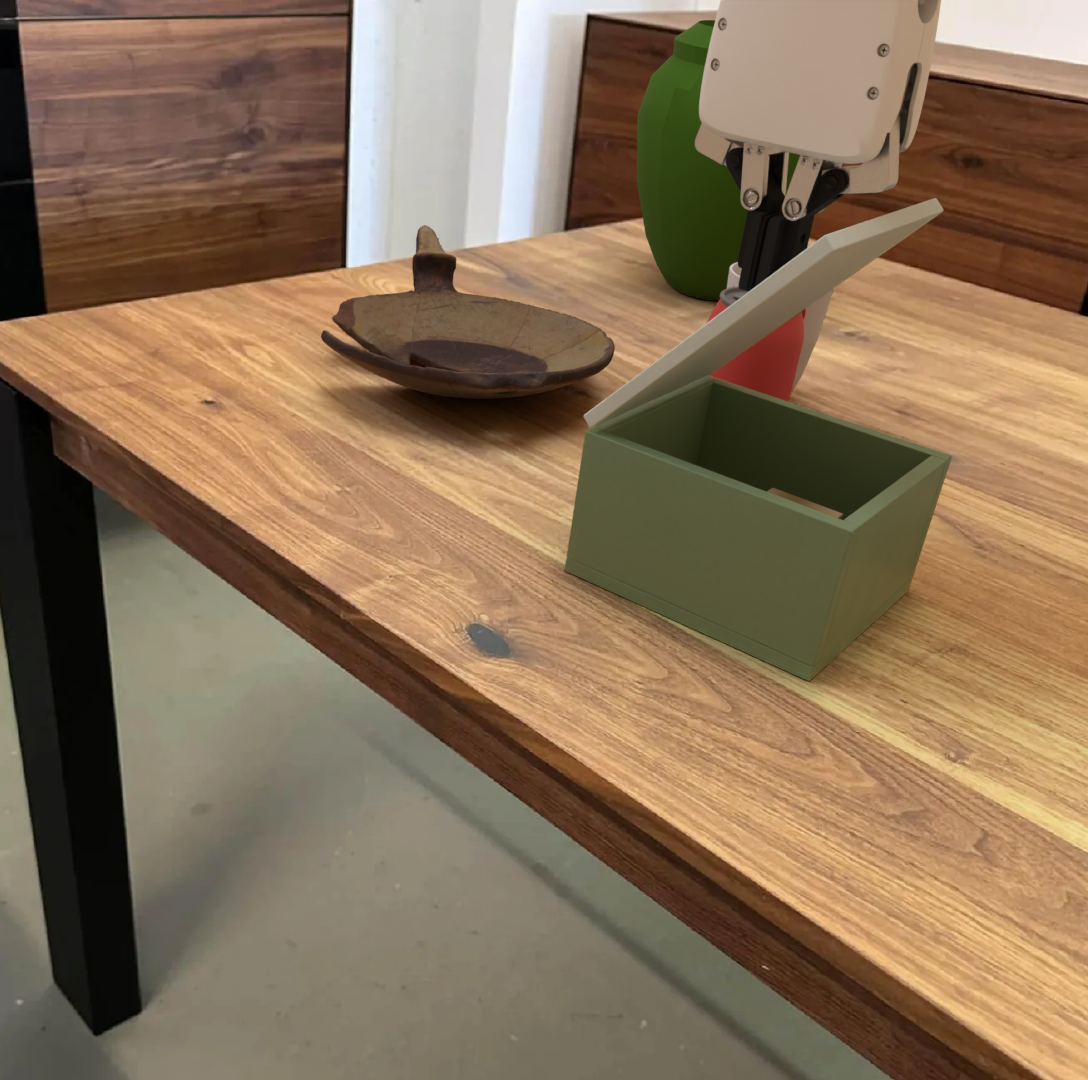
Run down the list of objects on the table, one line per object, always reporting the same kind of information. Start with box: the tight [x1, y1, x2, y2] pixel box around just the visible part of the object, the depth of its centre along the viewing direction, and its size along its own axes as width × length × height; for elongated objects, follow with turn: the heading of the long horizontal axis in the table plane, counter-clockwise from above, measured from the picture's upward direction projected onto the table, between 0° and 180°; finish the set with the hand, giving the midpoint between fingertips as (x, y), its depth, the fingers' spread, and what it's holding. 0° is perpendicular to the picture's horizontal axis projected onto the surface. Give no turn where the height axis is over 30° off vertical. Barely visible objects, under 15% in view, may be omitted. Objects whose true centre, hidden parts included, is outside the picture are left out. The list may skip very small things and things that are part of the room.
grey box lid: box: [583, 197, 944, 429], centre depth 65 cm, size 17×14×1 cm
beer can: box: [706, 286, 804, 402], centre depth 84 cm, size 7×7×12 cm
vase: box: [636, 19, 800, 302], centre depth 118 cm, size 20×20×24 cm
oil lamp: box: [320, 224, 616, 400], centre depth 96 cm, size 22×30×8 cm
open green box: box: [564, 375, 953, 682], centre depth 70 cm, size 16×14×9 cm
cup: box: [727, 262, 835, 394], centre depth 97 cm, size 8×8×10 cm
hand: (764, 287), depth 65 cm, fingers closed
